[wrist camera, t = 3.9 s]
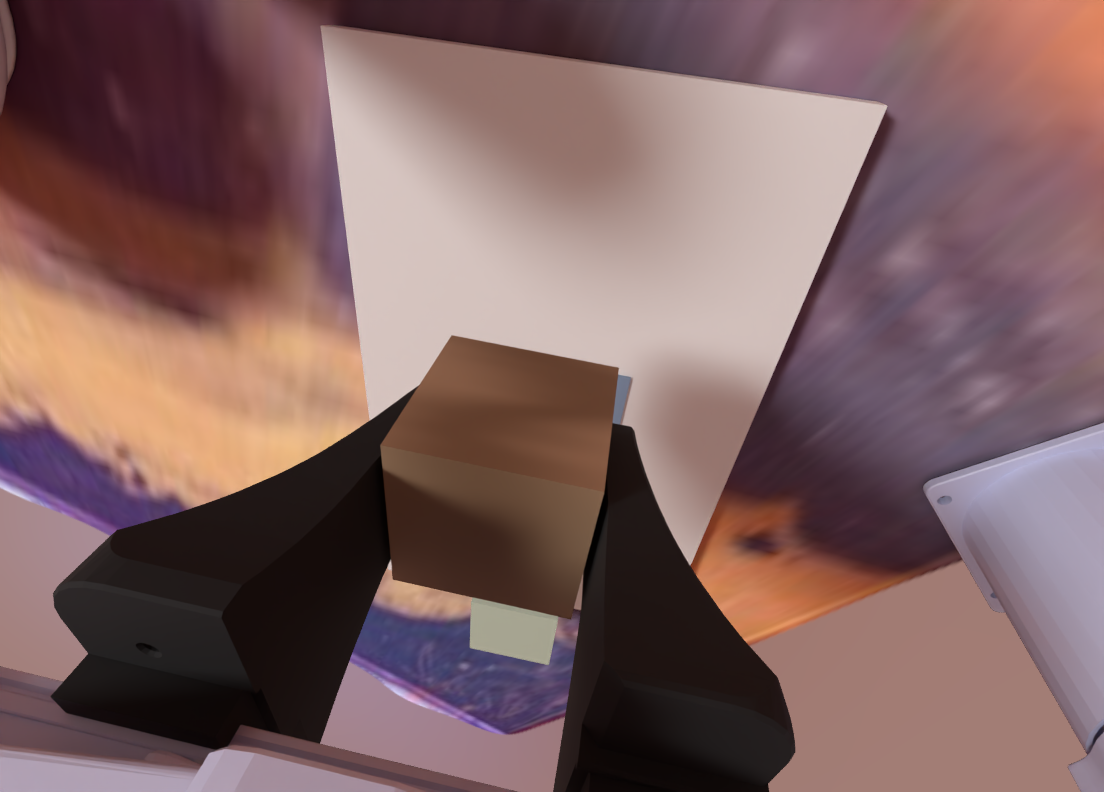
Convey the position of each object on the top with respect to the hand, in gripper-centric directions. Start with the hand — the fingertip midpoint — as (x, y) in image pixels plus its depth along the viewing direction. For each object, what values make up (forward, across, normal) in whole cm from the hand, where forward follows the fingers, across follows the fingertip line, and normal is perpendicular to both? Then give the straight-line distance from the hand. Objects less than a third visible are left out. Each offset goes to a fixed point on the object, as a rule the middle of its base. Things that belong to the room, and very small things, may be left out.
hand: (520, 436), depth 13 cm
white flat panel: (+8, 0, +6) cm, 10 cm away
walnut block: (+1, 0, 0) cm, 1 cm away
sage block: (+8, 0, +16) cm, 17 cm away
